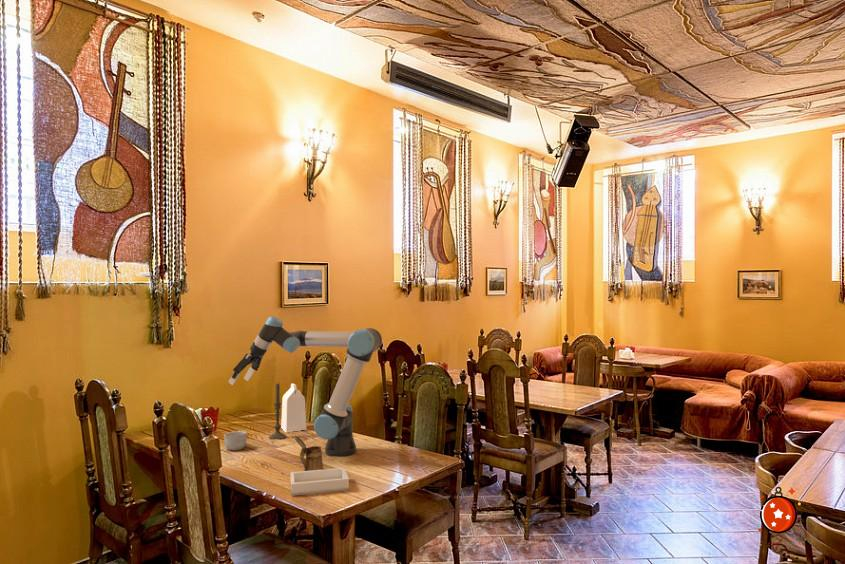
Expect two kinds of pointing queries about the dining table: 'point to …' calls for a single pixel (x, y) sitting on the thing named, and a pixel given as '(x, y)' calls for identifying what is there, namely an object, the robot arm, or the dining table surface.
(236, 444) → the teacup
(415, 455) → the dining table surface
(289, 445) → the dining table surface
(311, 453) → the wooden mug
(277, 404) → the candlestick holder
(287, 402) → the milk
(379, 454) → the dining table surface
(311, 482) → the tray
